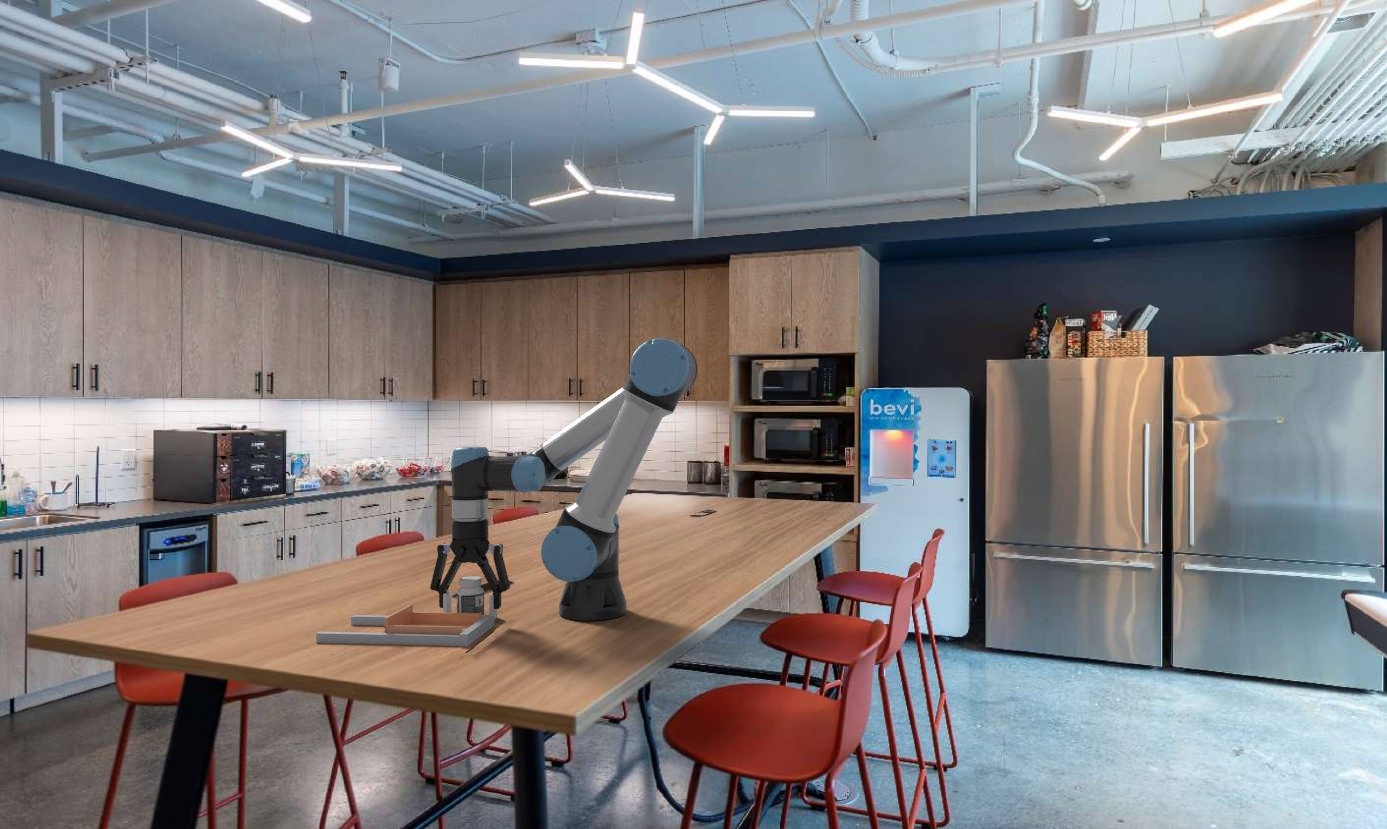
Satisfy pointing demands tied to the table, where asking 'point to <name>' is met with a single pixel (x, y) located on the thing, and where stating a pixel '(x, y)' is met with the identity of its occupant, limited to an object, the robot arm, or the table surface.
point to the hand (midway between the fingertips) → (470, 623)
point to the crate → (429, 622)
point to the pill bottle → (470, 595)
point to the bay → (408, 639)
